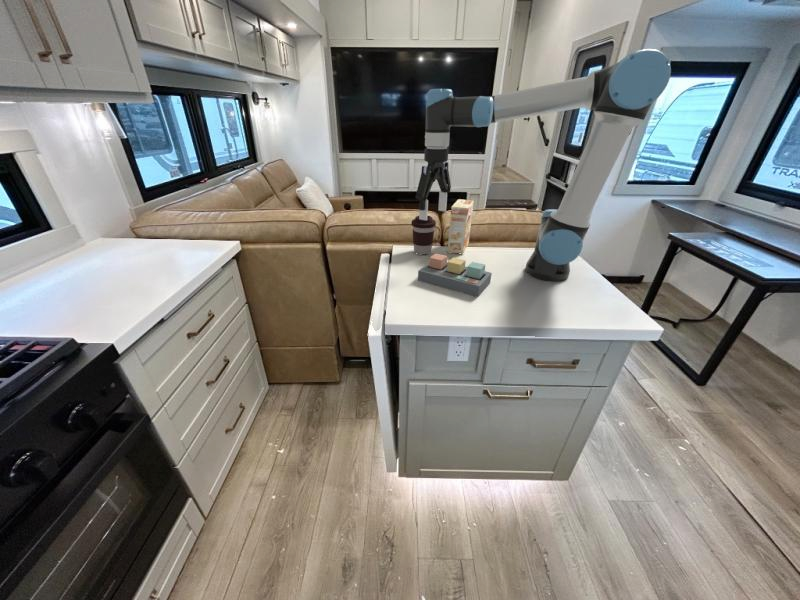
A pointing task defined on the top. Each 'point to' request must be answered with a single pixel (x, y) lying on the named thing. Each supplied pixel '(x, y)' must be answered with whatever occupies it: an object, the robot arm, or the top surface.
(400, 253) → the top surface
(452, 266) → the key mid
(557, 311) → the top surface
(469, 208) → the coffeecake box
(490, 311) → the top surface
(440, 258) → the key
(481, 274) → the key
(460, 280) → the keypad board
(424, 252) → the coffee cup
